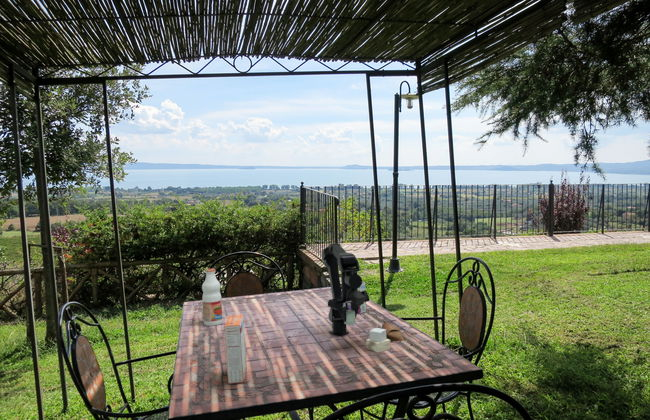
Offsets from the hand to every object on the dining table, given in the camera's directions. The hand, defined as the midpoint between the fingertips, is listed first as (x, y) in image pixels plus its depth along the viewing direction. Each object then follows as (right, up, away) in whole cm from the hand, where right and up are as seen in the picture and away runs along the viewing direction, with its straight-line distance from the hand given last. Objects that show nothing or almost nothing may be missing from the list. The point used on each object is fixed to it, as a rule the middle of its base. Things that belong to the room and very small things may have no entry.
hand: (349, 320), depth 203 cm
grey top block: (+11, -6, -6) cm, 15 cm away
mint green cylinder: (0, -1, 0) cm, 1 cm away
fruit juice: (-67, -11, +41) cm, 80 cm away
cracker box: (-42, -14, -29) cm, 53 cm away
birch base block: (+12, -10, -6) cm, 17 cm away
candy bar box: (+6, -8, +53) cm, 53 cm away
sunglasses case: (+20, -10, +11) cm, 25 cm away
